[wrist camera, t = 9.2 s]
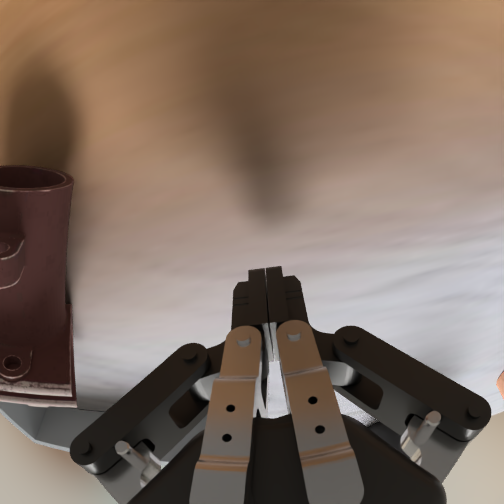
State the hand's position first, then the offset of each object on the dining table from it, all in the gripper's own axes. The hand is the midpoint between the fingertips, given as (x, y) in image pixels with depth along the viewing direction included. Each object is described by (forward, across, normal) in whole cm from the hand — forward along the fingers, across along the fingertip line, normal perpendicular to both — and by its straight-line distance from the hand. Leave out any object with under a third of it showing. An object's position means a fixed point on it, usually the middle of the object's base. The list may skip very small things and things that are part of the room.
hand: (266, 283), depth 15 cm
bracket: (+3, +14, 0) cm, 14 cm away
